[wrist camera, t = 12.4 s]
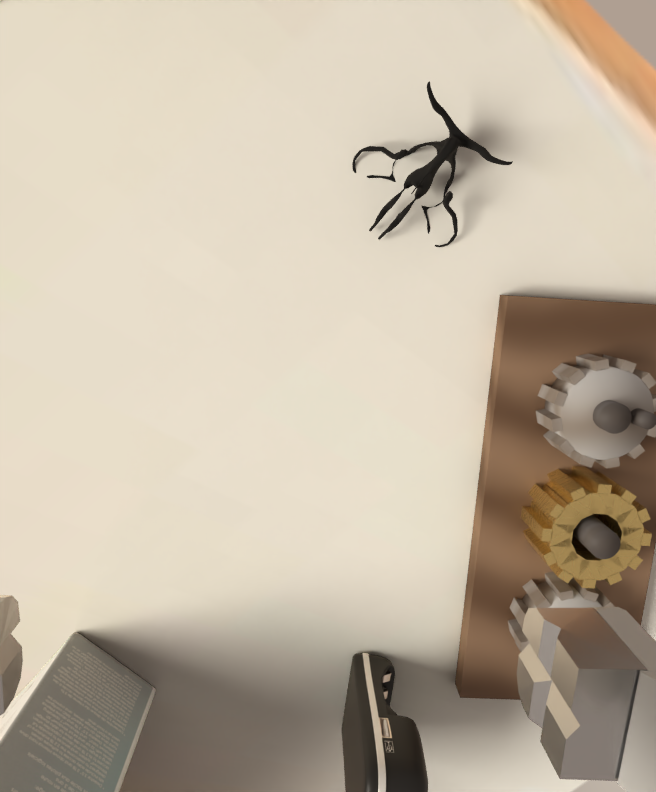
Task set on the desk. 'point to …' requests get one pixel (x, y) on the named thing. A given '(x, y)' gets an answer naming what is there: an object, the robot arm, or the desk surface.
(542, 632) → the robot arm
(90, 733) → the hard drive box
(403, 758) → the battery charger
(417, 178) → the creature
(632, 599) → the gear board
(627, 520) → the brass gear
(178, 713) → the desk surface
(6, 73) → the desk surface
